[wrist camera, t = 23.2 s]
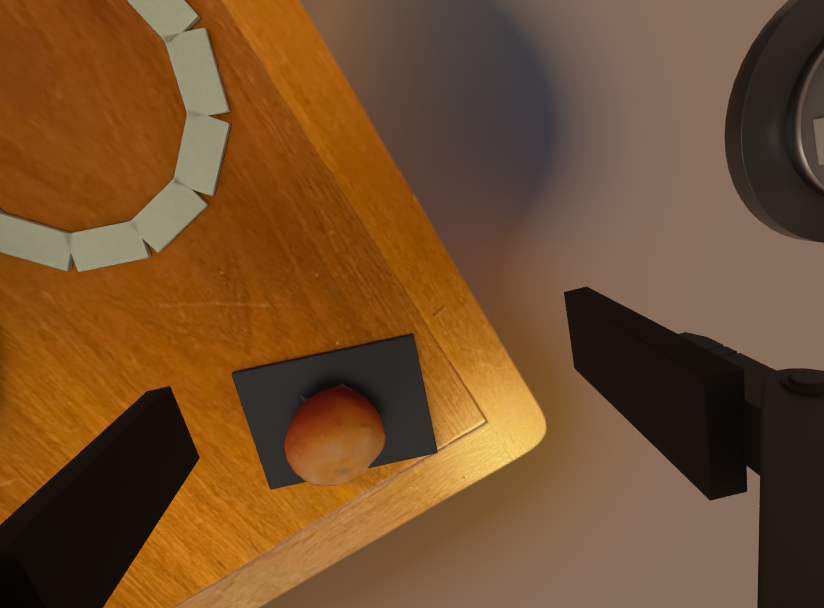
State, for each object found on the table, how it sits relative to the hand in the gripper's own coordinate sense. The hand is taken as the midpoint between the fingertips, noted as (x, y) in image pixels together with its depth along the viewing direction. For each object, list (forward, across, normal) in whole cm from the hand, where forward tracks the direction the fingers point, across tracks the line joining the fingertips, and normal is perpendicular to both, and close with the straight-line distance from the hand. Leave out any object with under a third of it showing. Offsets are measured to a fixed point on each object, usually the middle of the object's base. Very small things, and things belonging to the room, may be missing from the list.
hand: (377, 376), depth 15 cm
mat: (+24, -7, -13) cm, 28 cm away
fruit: (+24, -7, -13) cm, 28 cm away
